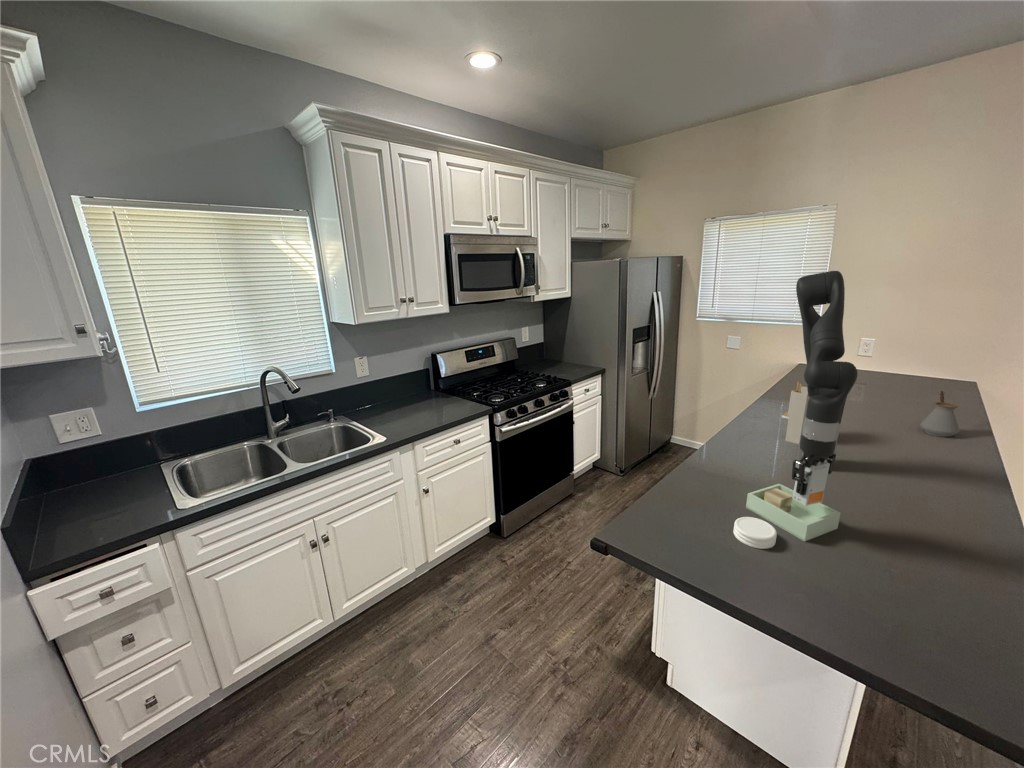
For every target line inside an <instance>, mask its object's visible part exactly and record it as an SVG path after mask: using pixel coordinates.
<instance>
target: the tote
mask: <svg viewBox="0 0 1024 768" xmlns="http://www.w3.org/2000/svg"><path fill="white" fill-rule="evenodd" d="M776 488H777V489H779V490H781V491H783V492H785V493H787V494H789V495H791V496H793V491H794V489H791V488H790V487H787V486H786V485H783V484H781V483H777V484H773V485H770V486H767V487H763V488H760V489H758V490H755V491H751V492H749V493H747V495H746V504H745V509H747V510H749V511H750V512H752V513H754V514H756V515H757V516H759V517H761V518H763V520H766V521H768V523H771V524H773V525H775V526H777V527H778V528H780V529H781V530H784V531H786V532H787V533H789V534H790V535H792V536H794V537H795V538H797V539H799V540H800V541H803V542H807V541H810V540H812V539H815V538H817V537H820V536H822V535H825V534H827V533H830V532H832V531H835V530H837V529H838V528H839V523H840V519H841V514H842V513H841V512H840V511H838V510H836V509H834V508H832V507H830V506H827V505H826V504H824V503H822V502H821V503H816V504H811V505H807V506H805V505H803V504H801V503H799V502H798V501H796V500H794V499H792V505H791V511H790V512H785V511H783V510H781V509H779V508H777V507H775V506H774V505H772V504H770V503H768V502H766V501H764V495H765V492H766V491H770V490H773V489H776Z"/></svg>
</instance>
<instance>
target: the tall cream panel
mask: <svg viewBox="0 0 1024 768" xmlns="http://www.w3.org/2000/svg"><path fill="white" fill-rule="evenodd" d="M796 384H797V385H796V390H794V389H791V392H790V397H789V403H788V410H787V411H786V412H784V413H783V414H781V418H782V419H788V420H787V426H786V432H785V433H786V434H785V441H786V442H789V443H794V444H796V445H800V440H801V434H802V428H803V423H804V420H805V417H806V411H807V405H808V401H809V398H810V397H809V395H808V390H807V386H802V383H800V381H798V380H797V383H796Z"/></svg>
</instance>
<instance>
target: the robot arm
mask: <svg viewBox="0 0 1024 768" xmlns="http://www.w3.org/2000/svg"><path fill="white" fill-rule="evenodd" d="M795 288H796V290H795V291H796V292H795V293H796V298H797V303H798V309H799V313H800V317H801V323H802V324H801V325H802V336H803V346H804V347H803V348H804V353H805V358H806V359H805V360H806V367H805V369H804V373H803V380H804V382H805V383H806V387H807V390H808V395H809V397H810V398H809V401H808V405H807V411H806V417H805V420H804V423H803V428H802V434H801V440H800V444H799V449H800V450H801V451H802V454H801V458H800V459H799V460H797V459H793V461H792V469H791V470H792V472H791V479H792V480H794V481H795V480H796V481H797V487H796V492H797V493H798V494H800V495H806V490H807V485H808V481H809V477H810V476H812V472H813V471H810V472H806V471H805V468H806V467H808V468H810V467H811V465H814V466H815V467H818V466H820V464H821V463H823V464H826V463H827V462H828V463H830V466H829V471H828V475H831V474H832V472H833V469H834V464H835V462H836V461H835V460H836V458H837V454H836V453H837V449H838V443H839V442H838V440H839V434H840V429H841V423H842V419H843V415H844V410H845V407H846V406H845V405H846V401H847V398H848V395H849V394H850V392H851V390H852V389H853V387H854V385H855V383H856V382H857V379H858V369H857V367H856V366H855V365H854V363H852V362H850V361H849V362H848V361H839V359H841V358H842V357H844V354H845V352H846V351H845V350H846V349H845V339H844V331H843V330H844V327H843V324H844V314H845V294H846V293H845V279H844V277H843V274H842V273H841V272H840V271H839V270H829V271H825V272H824V271H823V272H819V273H814V274H808V275H804V276H801V277H799V278H798V279H797V281H796V287H795ZM821 305H829V306H828V307H827V309H826V310H825V312H824V313H823V314H822V315H820V314H819V313H818V312H817V311H816V309H815V307H817V306H821ZM837 360H838V361H837ZM797 474H798V475H797ZM804 474H806V477H805V478H804Z"/></svg>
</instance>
